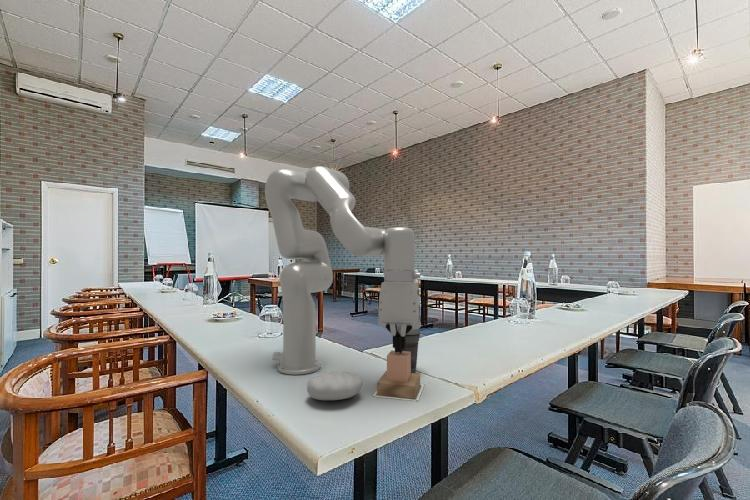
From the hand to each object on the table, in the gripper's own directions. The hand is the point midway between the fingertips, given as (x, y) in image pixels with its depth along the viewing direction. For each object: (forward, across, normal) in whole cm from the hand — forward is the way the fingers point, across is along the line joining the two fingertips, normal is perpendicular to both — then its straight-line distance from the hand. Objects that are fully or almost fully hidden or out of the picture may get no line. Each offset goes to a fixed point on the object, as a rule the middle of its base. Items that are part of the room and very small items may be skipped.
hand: (399, 351), depth 88 cm
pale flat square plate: (+10, 0, 0) cm, 10 cm away
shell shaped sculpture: (+10, +13, +9) cm, 19 cm away
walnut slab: (+10, 0, 0) cm, 10 cm away
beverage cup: (+10, 0, -14) cm, 17 cm away
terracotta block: (+7, 0, 0) cm, 7 cm away
